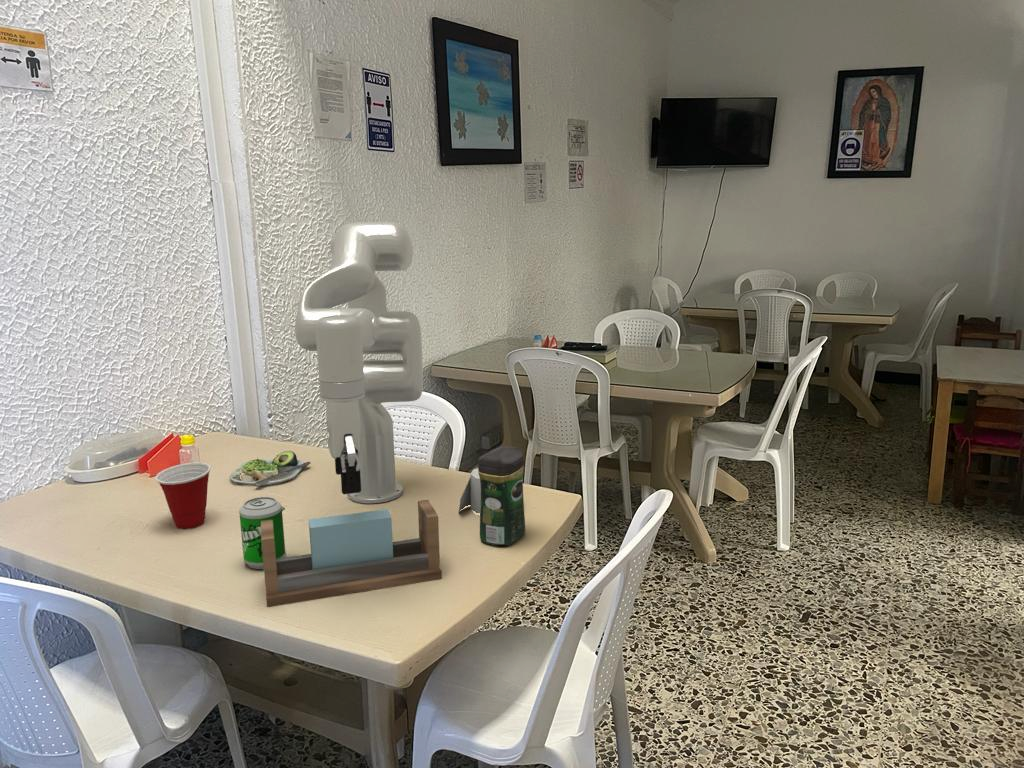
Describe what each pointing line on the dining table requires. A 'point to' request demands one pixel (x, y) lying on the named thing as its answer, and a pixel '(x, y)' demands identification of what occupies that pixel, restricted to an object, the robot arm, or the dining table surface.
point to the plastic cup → (186, 492)
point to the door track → (352, 566)
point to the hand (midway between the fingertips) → (348, 482)
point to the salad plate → (270, 469)
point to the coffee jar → (501, 495)
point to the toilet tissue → (472, 493)
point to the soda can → (251, 529)
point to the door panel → (350, 539)
